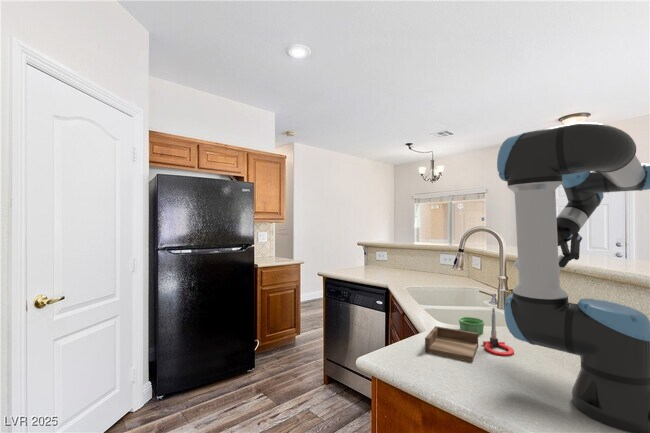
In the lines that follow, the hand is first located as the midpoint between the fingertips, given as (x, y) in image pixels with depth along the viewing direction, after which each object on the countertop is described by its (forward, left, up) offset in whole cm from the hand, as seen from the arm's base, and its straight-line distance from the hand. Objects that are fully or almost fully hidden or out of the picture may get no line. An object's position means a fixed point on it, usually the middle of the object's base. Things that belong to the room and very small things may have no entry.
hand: (532, 270), depth 102 cm
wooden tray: (-13, +23, -26) cm, 37 cm away
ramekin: (+9, +20, -26) cm, 34 cm away
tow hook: (-6, +10, -26) cm, 29 cm away
